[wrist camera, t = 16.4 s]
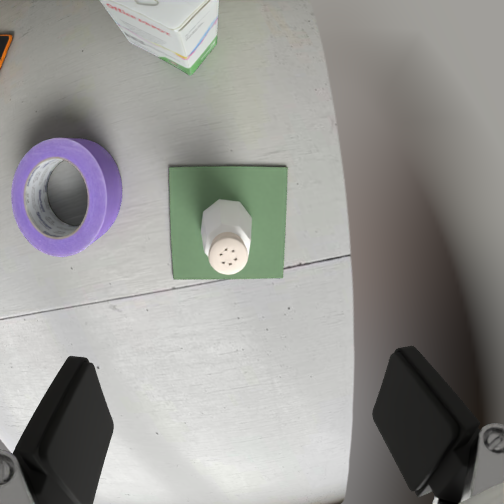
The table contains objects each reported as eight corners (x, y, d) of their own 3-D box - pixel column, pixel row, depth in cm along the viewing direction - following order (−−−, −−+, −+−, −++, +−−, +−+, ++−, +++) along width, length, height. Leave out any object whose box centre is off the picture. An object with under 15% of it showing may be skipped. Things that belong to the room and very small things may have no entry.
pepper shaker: (193, 206, 31) (179, 230, 21) (245, 191, 32) (256, 209, 21) (208, 255, 33) (202, 300, 23) (258, 241, 33) (274, 281, 23)
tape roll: (134, 231, 32) (120, 244, 27) (49, 253, 32) (28, 267, 27) (110, 124, 28) (92, 120, 24) (26, 157, 28) (1, 159, 23)
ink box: (128, 42, 26) (89, -3, 14) (158, 7, 25) (133, -49, 14) (191, 77, 28) (175, 37, 17) (221, 41, 27) (222, -13, 16)
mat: (287, 167, 31) (287, 167, 31) (282, 277, 35) (282, 278, 35) (169, 167, 30) (169, 167, 30) (173, 278, 34) (173, 279, 34)
